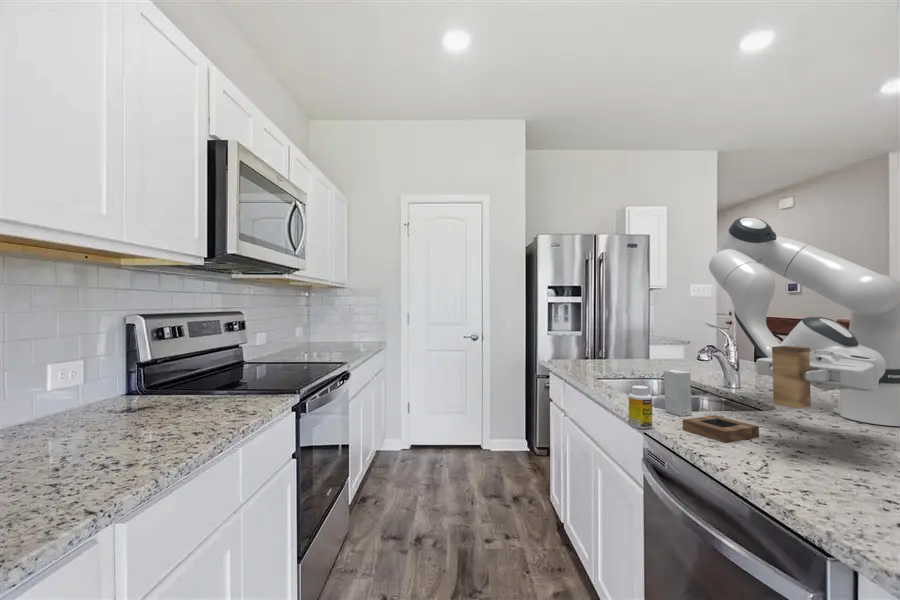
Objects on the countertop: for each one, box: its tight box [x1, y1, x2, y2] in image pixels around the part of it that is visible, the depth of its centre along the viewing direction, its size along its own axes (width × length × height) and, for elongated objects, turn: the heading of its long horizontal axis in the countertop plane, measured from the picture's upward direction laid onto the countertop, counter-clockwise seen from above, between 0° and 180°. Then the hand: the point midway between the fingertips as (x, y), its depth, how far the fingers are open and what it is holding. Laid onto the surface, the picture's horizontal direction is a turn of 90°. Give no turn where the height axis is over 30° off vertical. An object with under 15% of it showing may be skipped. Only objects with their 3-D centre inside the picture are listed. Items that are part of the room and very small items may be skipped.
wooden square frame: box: [682, 414, 760, 443], centre depth 108 cm, size 11×11×2 cm
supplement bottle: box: [628, 385, 653, 430], centre depth 114 cm, size 6×6×10 cm
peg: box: [772, 346, 812, 409], centre depth 92 cm, size 5×5×12 cm
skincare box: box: [663, 369, 693, 417], centre depth 127 cm, size 6×4×12 cm
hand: (788, 373), depth 92 cm, fingers closed on peg, 4 cm apart
